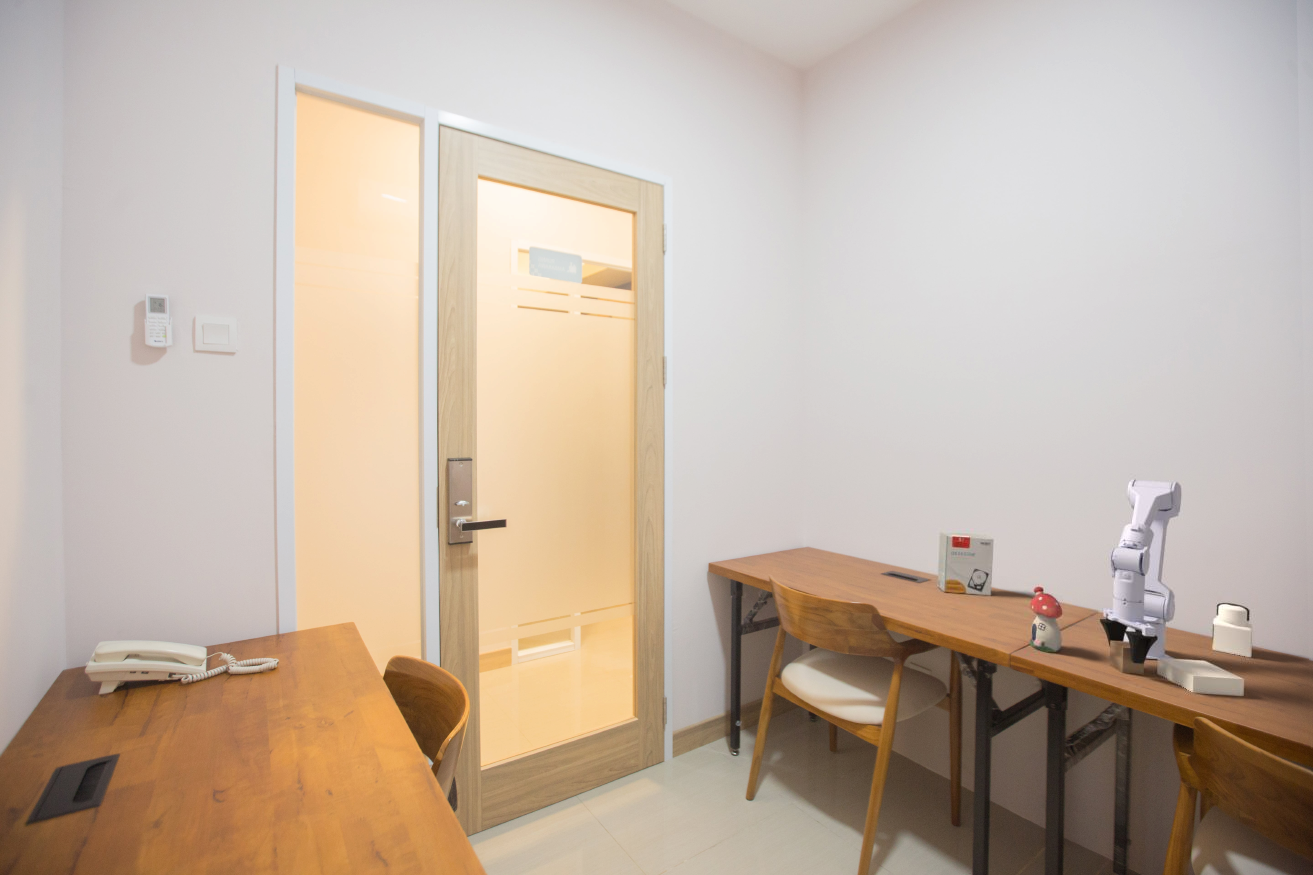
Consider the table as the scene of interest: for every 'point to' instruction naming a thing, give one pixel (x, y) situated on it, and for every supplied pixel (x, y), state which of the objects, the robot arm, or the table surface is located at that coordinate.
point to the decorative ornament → (1045, 622)
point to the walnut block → (1123, 658)
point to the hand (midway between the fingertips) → (1126, 656)
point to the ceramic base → (1200, 677)
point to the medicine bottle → (1232, 630)
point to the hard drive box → (965, 563)
